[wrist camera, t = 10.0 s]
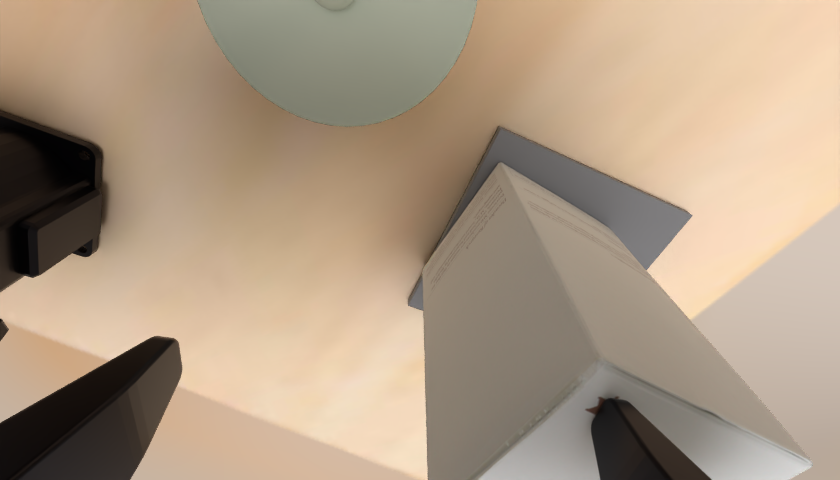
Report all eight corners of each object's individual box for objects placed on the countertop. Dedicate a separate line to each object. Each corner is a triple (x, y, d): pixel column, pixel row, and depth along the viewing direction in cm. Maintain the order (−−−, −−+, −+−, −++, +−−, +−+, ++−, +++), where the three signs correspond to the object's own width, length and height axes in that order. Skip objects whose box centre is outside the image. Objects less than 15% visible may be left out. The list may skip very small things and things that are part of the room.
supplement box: (417, 269, 22) (415, 525, 11) (499, 156, 19) (609, 355, 8) (524, 323, 24) (613, 588, 13) (615, 229, 21) (833, 471, 10)
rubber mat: (408, 300, 24) (408, 305, 23) (499, 126, 19) (500, 128, 18) (567, 354, 26) (570, 360, 25) (687, 211, 21) (692, 215, 20)
